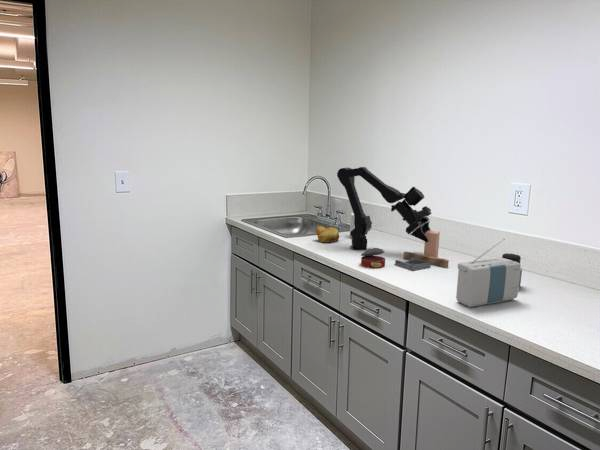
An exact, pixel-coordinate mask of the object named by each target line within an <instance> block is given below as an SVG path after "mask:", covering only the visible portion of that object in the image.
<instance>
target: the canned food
mask: <svg viewBox="0 0 600 450" xmlns="http://www.w3.org/2000/svg"><path fill="white" fill-rule="evenodd" d="M384 253H385V250H384V249H382V248H379V247H373V248H367V249H365V251H364V252H362V253H361V255H360V256H361V257H360V258H361V259H360V261H361V262H360V265H361V266H362V267H363V268H367V267H369V268H368V269H383V268H384V266H385V267H386V258H385V257H383V256H380V255H383V254H384ZM382 267H383V268H382Z"/></svg>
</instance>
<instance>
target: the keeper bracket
mask: <svg viewBox="0 0 600 450" xmlns="http://www.w3.org/2000/svg"><path fill="white" fill-rule="evenodd" d="M393 264H394V266H397V267H400V268H404V269H406V270H408V271H419V270H423V269H424V270H426V269H430V268H431V266H432V265H431V263H430V262H427V261H424V260H420V259H417V258H414V257H412V258H411V260H408V261H401V260H400V259H399V260H398V259H395V260H394V263H393Z"/></svg>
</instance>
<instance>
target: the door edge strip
mask: <svg viewBox="0 0 600 450" xmlns="http://www.w3.org/2000/svg"><path fill="white" fill-rule="evenodd" d="M412 257H414V258H417V259H420V260H424V261H427V262H430V263H431V266H434V267H435V266H436V267H440V268H444V269H447V268H449V262H450V260H449V259H445V258H440V257H438V258H436V257H431V256H426V255H424V254H421V253H416V252H413V251H412V252H411V251H407V250H406V251H403V255H402V258H403V260H408V261H411V258H412Z"/></svg>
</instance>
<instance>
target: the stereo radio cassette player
mask: <svg viewBox="0 0 600 450" xmlns="http://www.w3.org/2000/svg"><path fill="white" fill-rule="evenodd" d="M503 241H505V238H503V239H502V240H501V241H499V242H498V243H496V244H495V245H493V246H492V247H490V248H489V249H487V250H486V251H485V252H483V253H482V254H480V255H479V256H478V257H476V258H475V259H474V260H471V261H465V262H464V261H463V262H458V263H457V269H458V271H457V272H458V273H457V284H456V295H455V298H456V301H457V302H458V303H461V304H462V305H464V306H466V307H468V308H470V307H471V308H473V307H478V306H479V307H480V306H486V305H490V304H495V303H502V302H507V301H513V300H515V299H517V297H518V296H519V295H518V294H519V290H520V287H519V281H520V270H521V267H522V265H521V262H520V263H518V262H515V261H512V260H509V259H505V258H502V257H498V258H497V257H496V258H488V259H480V258H482V257H484V255H486V254H487V253H488V252H490V251H491V250H493V249H494V248H495V247H496V246H497V245H499V244H500V243H502V242H503Z"/></svg>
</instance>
